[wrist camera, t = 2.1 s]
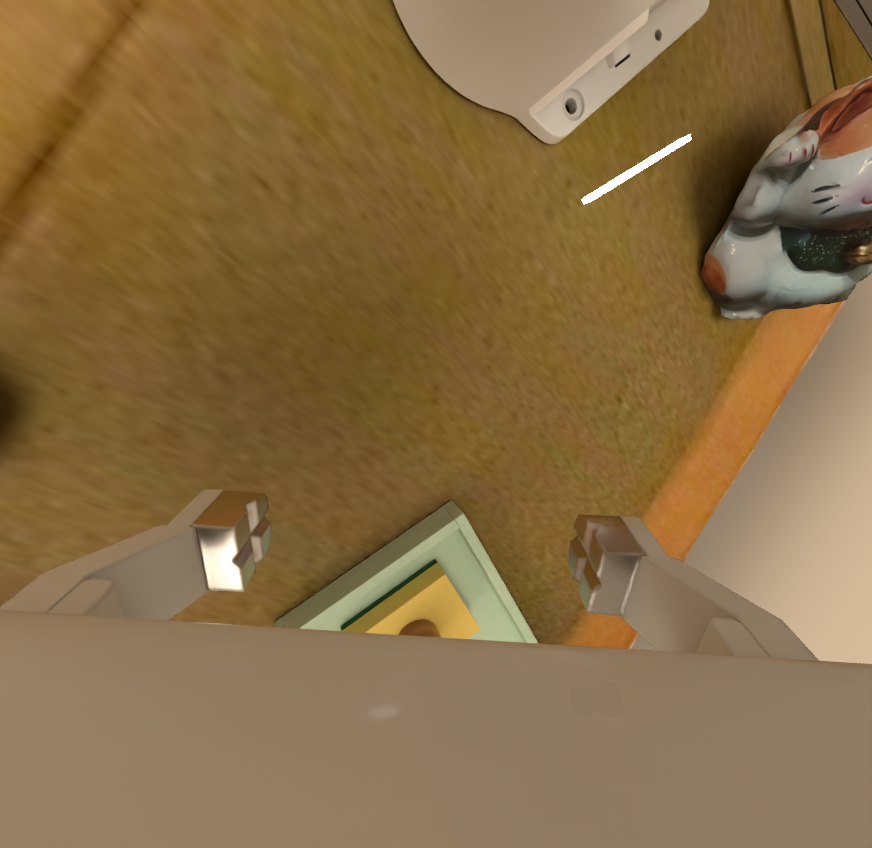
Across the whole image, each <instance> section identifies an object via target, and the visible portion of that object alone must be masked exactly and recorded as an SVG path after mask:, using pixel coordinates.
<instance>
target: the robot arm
mask: <svg viewBox="0 0 872 848" xmlns="http://www.w3.org/2000/svg"><path fill="white" fill-rule="evenodd" d="M709 2H710V0H393V3H394V5H395V8H396V10H397V12H398V15H399V17H400V19H401V21H402V23H403V25H404V27H405V29H406V31H407V33H408V35H409V36H410V38H411V40H412V41H413V43H414V45H415V46H416V48H417V49H418V51H419V52H420V53H421V55H422V56H423V58H424V59H425V60H426V61H427V63H428V64H429V65H430V66H431V68H432V69H433V70H434V71H435V72H436V73H437V74H438V75H439V76H440V77H441V78H442V79H443V80H444V81H445V82H446V83H447V84H448V85H450V86H451V87H452V88H453V89H455V90H456V91H457V92H459V93H460V94H462V95H463V96H465V97H466V98H468V99H470V100H471V101H473V102H475V103H477V104H479V105H482V106H484V107H487V108H490V109H493V110H497V111H500V112H503V113H506V114H508V115H511V116H513V117H515V118H516V119H518V120H519V121H520V122H521V123H522V124H523V125H524V126H525V127H526V128H527V129H528V130H529V131H530V132H531V133H532V134H534V135H535V136H536V137H537V138H539V139H540V140H541V141H543V142H545V143H547V144H556V143H559V142H560V141H562V140H563V139H564V138H565V137H566V136H567V135H568V134H570V133H571V132H572V131H573V130H574V129H575V128H576V127H578V126H579V125H580V124H581V123H582V122H583V121H584V120H586V119H587V118H588V117H589V116H590V115H591V114H592V113H594V112H595V111H596V110H597V109H598V108H599V107H600V106H602V105H603V104H604V103H605V102H606V101H607V100H608V99H609V98H611V97H612V96H613V95H614V94H615V93H616V92H617V91H619V90H620V89H621V88H622V87H623V86H624V85H625V84H627V83H628V82H629V81H630V80H631V79H632V78H633V77H635V76H636V75H637V74H638V73H639V72H640V71H641V70H643V69H644V68H645V67H646V66H647V65H648V64H649V63H651V62H652V61H653V60H654V59H655V58H656V57H657V56H658V55H660V54H661V53H662V52H663V51H664V50H665V49H666V48H668V47H669V46H670V45H671V44H672V43H673V42H674V41H676V40H677V39H678V38H679V37H680V36H681V35H682V34H684V33H685V32H686V31H687V30H688V29H689V28H690V27H691V26H693V25H694V24H695V23H696V22H697V21H698V20H699V19H700V18H701V17H702V16H703V15H704V14H705V13H706V11H707V9H708V6H709ZM565 104H566V105H567V106H568V107H569V113H568V112H567V110H566V107H565ZM690 140H692V139H691V135H690V134H689V135H687V136H685V137H683V138H681V139H679V140H677V141H675V142H674V143H672V144H670V145H669V146H667V147H666V148H664V149H662V150H661V151H659V152H657V153H656V154H654V155H652V156H651V157H649V158H648V159H646V160H644V161H643V162H641V163H639V164H638V165H636V166H635V167H633V168H631V169H630V170H628V171H626V172H625V173H623V174H622V175H620V176H618V177H617V178H615V179H613V180H612V181H610V182H608V183H607V184H605V185H604V186H602V187H600V188H599V189H597V190H595V191H594V192H592V193H591V194H589V195H587V196H586V197H584V198H582V201H583V204H586V203H588V202H591V201H593V200H595V199H596V198H598V197H599V196H601V195H603V194H604V193H606V192H608V191H609V190H611V189H612V188H614V187H616V186H617V185H619V184H620V183H622V182H624V181H625V180H627V179H629V178H630V177H632V176H633V175H635V174H637V173H638V172H640V171H641V170H643V169H645V168H646V167H648V166H650V165H651V164H653V163H654V162H656V161H658V160H659V159H661V158H663V157H664V156H666V155H667V154H669V153H671V152H672V151H674V150H675V149H677V148H679V147H680V146H682V145H684V144H685V143H687V142H688V141H690ZM268 509H269V505H268V498H267V496H266V495H265V494H263V493H251V492H239V491H228V490H227V491H225V490H214V489H206V490H203V491H201V492H200V493H199V494H198V495H197V496H196V497H195V498H194V499H193V500H192V501H191V502H190V503H189V504H188V505H187V506H186V507H185V508H184V509H183V510H182V511H181V512H180V513H179V514H178V515H177V516H176V517H175V518H174V519H173V520H172V521H171V522H170V523H169V524H167V525H159V526H157V527H154V528H152V529H149V530H147V531H144V532H142V533H139V534H137V535H135V536H132V537H130V538H127V539H125V540H122V541H120V542H117V543H115V544H112V545H110V546H108V547H105V548H103V549H100V550H98V551H95V552H93V553H90V554H88V555H85V556H83V557H81V558H78V559H76V560H73V561H71V562H68V563H66V564H63V565H61V566H58V567H56V568H54V569H51V570H49V571H46V572H44V573H42V574H41V575H39V576H38V577H37V578H36V579H34V580H33V581H32V582H31V583H29V584H28V585H27V586H25V587H24V588H23V589H22V590H20V591H19V592H18V593H17V594H15V595H14V596H13V597H12V598H10V599H9V600H8V601H7V602H5V603H4V604H3V605H2V606H0V848H872V664H861V663H859V664H858V663H844V662H828V661H819V660H818V659H817V658H816V657H815V656H814V655H813V653H812V652H811V651H810V650H809V649H808V648H807V647H806V646H805V645H804V644H803V643H802V641H801V640H800V639H799V638H798V637H797V636H796V635H795V634H794V633H793V632H792V631H791V629H790V628H789V627H788V626H787V625H786V624H785V623H784V622H783V621H782V620H781V619H779V618H777V617H776V616H774V615H772V614H771V613H769V612H767V611H765V610H764V609H762V608H760V607H759V606H757V605H755V604H753V603H752V602H750V601H748V600H747V599H745V598H743V597H741V596H740V595H738V594H736V593H735V592H733V591H731V590H730V589H728V588H726V587H724V586H723V585H721V584H719V583H717V582H716V581H714V580H712V579H711V578H709V577H707V576H706V575H704V574H702V573H701V572H699V571H697V570H695V569H694V568H692V567H690V566H689V565H687V564H685V563H683V562H682V561H680V560H678V559H677V558H670V557H669V556H668V555H667V553H666V552H665V551H664V549H663V548H662V547H661V545H660V544H659V543H658V541H657V540H656V539H655V537H654V536H653V535H652V533H651V532H650V531H649V529H648V528H647V527H646V525H645V524H644V523H643V521H642V520H641V519H640V518H638V517H631V516H598V515H578V517H577V519H576V521H575V525H574V529H575V531H576V533H577V535H578V536H577V537H575V538H574V539H573V540H572V541H571V542H570V547H569V567H570V572H571V574H572V577H573V579H574V580H576V581H577V582H578V583H579V584H580V587H579V591H578V592H579V595H580V597H581V600H582V602H583V605H584V607H585V609H586V612H587V613H593V614H604V615H615V616H622V618H623V619H624V620H625V621H626V622H627V623H628V624H629V625H630V626H631V627H632V628H633V629H634V630H635V631H636V632H637V633H638V634H639V635H640V636H641V637H642V638H643V639H644V640H646V642H648V643H649V644H650V645H651V646H652V647H653V648H654V649H655V650H656V651H651V650H634V649H618V648H602V647H586V646H570V645H554V644H538V643H522V642H506V641H490V640H474V639H457V638H441V637H424V636H408V635H392V634H376V633H360V632H344V631H328V630H312V629H296V628H280V627H264V626H248V625H232V624H216V623H200V622H184V621H168V620H169V619H171V618H172V617H173V616H175V615H176V614H178V613H179V612H180V611H182V610H183V609H184V608H186V607H187V606H189V605H190V604H191V603H193V602H194V601H196V600H197V599H198V598H200V597H201V596H203V595H204V594H205V593H207V592H208V591H207V590H219V591H244V590H245V588H246V586H247V585H248V583H249V581H250V580H251V578H252V576H253V575H254V573H255V563H257V562H258V561H260V560H262V559H263V558H264V556H265V554H266V552H267V551H268V547H269V544H270V540H271V522H270V521H269V520H268V519H267V518H266V517H265V516H264V515H265V513H266V512H267V510H268Z"/></svg>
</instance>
